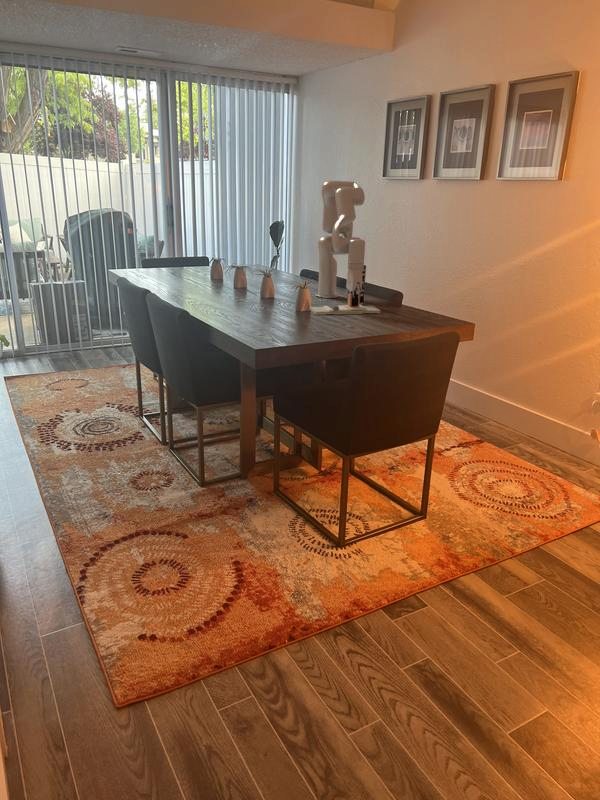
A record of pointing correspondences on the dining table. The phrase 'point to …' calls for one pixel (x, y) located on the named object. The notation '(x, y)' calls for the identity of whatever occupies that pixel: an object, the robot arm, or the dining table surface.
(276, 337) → the dining table surface
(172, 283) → the dining table surface
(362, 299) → the white-spotted black cylinder
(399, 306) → the dining table surface
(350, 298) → the stub
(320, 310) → the ticket board
